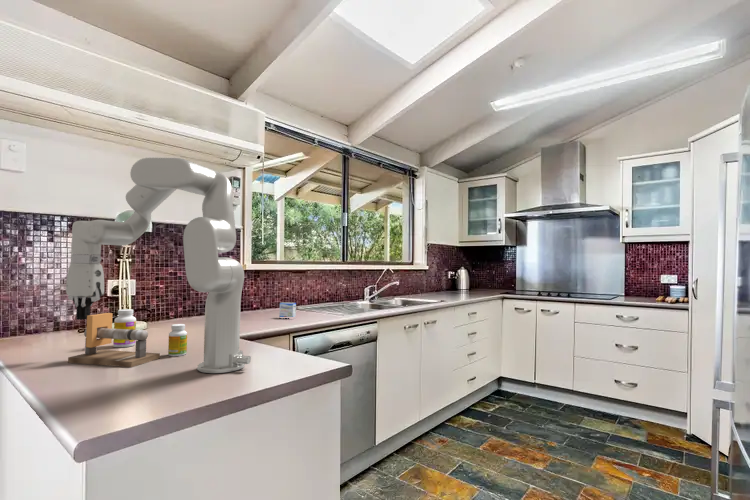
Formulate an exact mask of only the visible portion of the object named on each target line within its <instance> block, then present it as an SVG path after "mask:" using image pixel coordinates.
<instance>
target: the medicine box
mask: <svg viewBox="0 0 750 500" xmlns="http://www.w3.org/2000/svg"><path fill="white" fill-rule="evenodd" d="M278 314H279V317H295V316H296V315H297V302H279V313H278Z"/></svg>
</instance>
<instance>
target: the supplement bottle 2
mask: <svg viewBox="0 0 750 500" xmlns="http://www.w3.org/2000/svg"><path fill="white" fill-rule="evenodd" d="M170 327H171V331H170V332H168V351H167V354H168V356H169V357H182V356H185V355H187V353H188V352H187V351H188V348H187V347H188V332H187V331H186V330H185V329H186V324H184V323H175V324H171V326H170Z"/></svg>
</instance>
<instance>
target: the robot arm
mask: <svg viewBox="0 0 750 500" xmlns="http://www.w3.org/2000/svg"><path fill="white" fill-rule="evenodd" d="M129 173H130V178H131V181H132V182H133V183H134V184H135V185H134V186H132V187H131V188H130V190H128V192H126V194H125V201H126V203H127V204H128V206H129V207H130V208H131V209H133V213H132V214H131V215H130V216H129V217H127V219H126V220H124V221H114V220H106V219H94V220H75V221H74V222H73V223H72V228H71V229H72V230H71V244H70V245H71V249H70V264H69V266H68V271H67V275H66V284H65V285H66V286H65V292H66V295H67V296H68V297H67V299H68V300H69V301H72V302H73V303H74V307H76V314H75V319H76V321H77V320H79V321H83V320H87V316H89V315H91V307H92V306H93V304H94V303H95V302H97V301H100V300H101V297H102V296H104V294H105V274H104V268H103V265H102V264H101V261H102V256H101V253H102V246H103V245H104V246H105V245H106V246H110V245H111V246H127V245H130V244H132V243H134V242H135V241H137V240H138V239H139V238H140V237H141V236H142V235H143V234H144V233H145V232H146V231H147V230H148V228H149V226H150V224H151V220H152V213H153V212H154V211H155V210H156V209H158V207H159V206H160V205H161V204H163V202H164V201H165V200H167V199H168V198H169V197H170V196H171V195H172V194H173V193H175V191H176V190H180V191H184V192H189V193H192V194H196V195H201V196H204V197H203V200H202V205H201V210H202V216H198V217H195V218H193V219H192V220H190V221H189V222H188V223H187V224H186V225H185V228H184V230H183V236H182V241H183V242H182V243H183V244H182V245H183V256H184V265H185V266H184V267H185V275H186V279H187V282H188V285H189V286H190V287H191V288H192V289H193V290H195V291H197V292H199V293H208V294H207V296H206V301H205V304H204V305H205V307H204V333H203V336H204V338H203V340H204V341H203V361H202V362H200V363H198V364H197V371H199V372H201V373H205V374H206V373H207V374H224V373H231V372H235V371H239V370H242V369H243V368H244V367H245V366H246V365H250V364H251V359H252V358H251V357H252V356H251V355H244V350H241V349H240V342H241V341H240V337H241V335H240V334H241V330H240V329H241V303H242V291H243V287H244V283H245V282H244V281H245V269H244V268H243V266H242V264H241V263H240V261H238V260H236V259H234V258H231V257H227V256H226V257H225V256H219V253H222V254H223V253H227V252H231V251H232V250H233V249H234V248H235V247H236V243H237V232H236V231H237V230H236V221H235V213H234V199H233V186H232V184H231V180H230V179H229V178H228V177H227V176H226V175H225V174H223V173H221V172H219V171H217V170H215V169H212V168H210V167H207V166H205V165H202V164H199V163H196V162H194V161H191V160H188V159H186V158H185V159H184V158H182V157H181V158H180V157H145V158H144V157H143V158H140V159H139V160H137V161H136V162H135V163H133V165H132V166H131V169H130V172H129Z"/></svg>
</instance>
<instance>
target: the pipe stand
mask: <svg viewBox="0 0 750 500" xmlns="http://www.w3.org/2000/svg"><path fill="white" fill-rule="evenodd" d="M86 332H87V328H85V330H84V333H83V335H84V336H85V338H86ZM148 336H149V333H148V331H147V330H146V329H145V330H143V329H136V330H134V329H131V330H128V329H114V328H112V329H108V328H102V327H99V328H97V339H99V338H107V339H112V340H114V339H124V340H135V351H130V350H129V351H128V350H126V351H125V350H110V349H99V350H97V346H96V347H92V348H90V347H86V340H85V341H84V342H85V344H84V345H85V346H84V353H82V354H77V355H73V356H68V357H67V363H68V364H69V363H71V364H81V365H82V364H83V365H97V366H109V367H124V368H133V367H137V366H139V365H143V364H146V363H149V362H153V361H155V360H159V359H160V358H161V353H157V352H148V351H147V339H148Z"/></svg>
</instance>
